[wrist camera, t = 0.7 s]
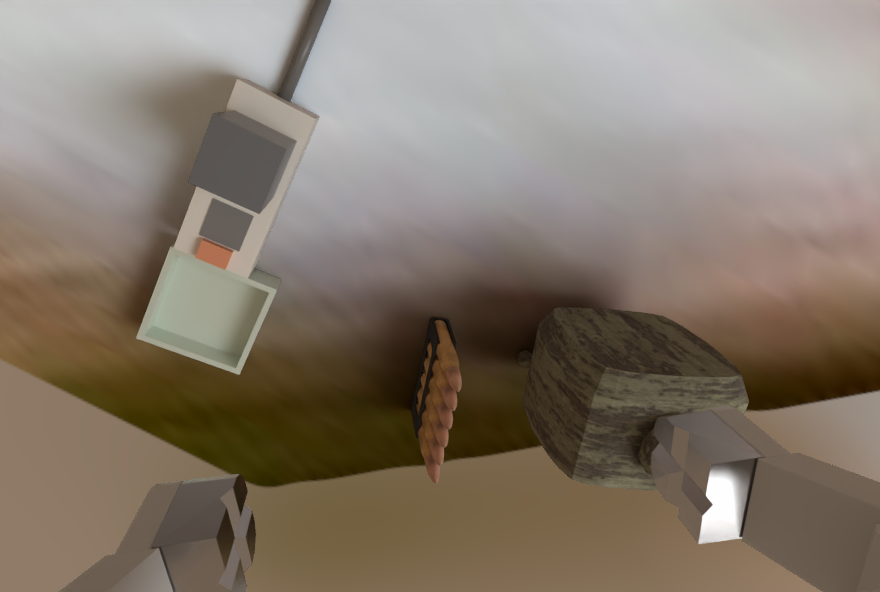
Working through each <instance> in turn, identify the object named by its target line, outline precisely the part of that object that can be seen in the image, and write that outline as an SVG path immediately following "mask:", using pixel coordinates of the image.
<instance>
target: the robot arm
mask: <svg viewBox="0 0 880 592" xmlns="http://www.w3.org/2000/svg"><path fill="white" fill-rule="evenodd" d="M654 436H655V437H656V438H657V440H658V441H659V442H660V443H659V444H658V446H657V447H656V448H655V449H654V451H653V452H652V454H651V471H652V475H653V480H654V482H655V485H656V487H657V489H658V491H659V492H660V494H661V495H662V496H663V498H664V499H665V500H666V501H668V502H670V503H671V504H673V505H675V506H677V507H679V514H678V518H679V519H680V520H681V522H682V523H683V524H684V526H685V527H686V528H687V530H688V531H689V532H690V534H691V535H692V536H693V537H694V539H695V540H696V541H697V543H698V544H701V543H709V542H716V541H724V540H732V539H738V538H742V541H743V542H745V543H746V544H748V545H750V546H751V547H753V548H754V549H756V550H758V551H759V552H761V553H762V554H764V555H765V556H767V557H769V558H770V559H772V560H773V561H775V562H776V563H778V564H780V565H781V566H783V567H784V568H786V569H787V570H789V571H791V572H792V573H794V574H795V575H797V576H798V577H800V578H802V579H803V580H805V581H806V582H808V583H810V584H811V585H813V586H814V587H816V588H817V589H819V590H821V591H822V592H880V482H877V481H874V480H872V479H869V478H866V477H864V476H861V475H858V474H855V473H853V472H850V471H847V470H844V469H842V468H839V467H836V466H833V465H831V464H828V463H825V462H822V461H820V460H817V459H814V458H812V457H809V456H806V455H803V454H801V453H793V454H791V453H790V452H788V451H787V450H786V449H785V448H783V447H782V446H781V445H780V444H778V443H777V442H776V441H775V440H774V439H772V438H771V437H770V436H769V435H768V434H767V433H765V432H764V431H763V430H762V429H760V428H759V427H758V426H757V425H756V424H754V423H753V422H752V421H751V420H749V419H748V418H747V417H746V416H745V415H744V414H742V413H741V412H740V411H739V410H737V409H736V408H733V407H730V406H725V407H719V408H713V409H707V410H705V411H699V412H692V413H685V414H678V415H671V416H664V417H658V419H657V421H656V423H655V427H654ZM247 492H248V491H247V487H246V483H245V480H244V477H243V476H242V475H241V474H235V475H226V476H218V477H209V478H201V479H192V480H185V481H177V482H168V483H161V484H156V485H155V486H153V487H152V488H151V489H150V490H149V492H148V494H147V496H146V497H145V499H144V501H143V503H142V505H141V507H140V509H139V510H138V512H137V514H136V516H135V518H134V520H133V522H132V523H131V525H130V527H129V529H128V531H127V533H126V534H125V536H124V538H123V540H122V542H121V544H120V546H119V548H118V549H117V551H116V553H115V554H114V555H107V556H105V557H103V558H102V559H101V560H99V561H98V562H97V563H95V564H94V565H93V566H92V567H90V568H89V569H88V570H86V571H85V572H84V573H82V574H81V575H80V576H79V577H77V578H76V579H75V580H73V581H72V582H71V583H69V584H68V585H67V586H66V587H64V588H63V589H62V590H60V591H59V592H246V589H247V583H246V579H245V575H244V572H245V571H246V570H247V569H248V568H249V567H250V566H251V565H252V562H253V557H254V553H255V542H256V530H255V520H254V516H253V511H252V510H251V509H250V508H248V507H247V506H246V505H244V503H245V500H246V496H247Z"/></svg>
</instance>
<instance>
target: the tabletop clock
mask: <svg viewBox="0 0 880 592" xmlns="http://www.w3.org/2000/svg"><path fill="white" fill-rule="evenodd" d="M517 361H518V363H519V364H520V365H522V366H524V367H526V366H529V365H530V368H529V373H528V378H527V382H526V387H525V392H524V396H523V404H524V409H525V412H526V414H527V417H528V420H529V422H530V425H531V427H532V430H533V432H534V433H535V435H536V436H537V438H538V440H539V441H540V443H541V444H542V446H543V448H544V449H545V451H546V452H547V454H548V455H549V456H550V458H551V459H552V460H553V462H554V463H555V464H556V465H557V466H558V468H560V469H561V470H562V471H563V472H564V473H565V474H566V475H567V476H569V477H570V478H571V479H572V480H576V481H580V482H583V483H587V484H590V485H596V486H601V487H612V488H627V489H643V490H658V489H657V487H656V485H655V482H654V480H653V475H652V471H651V454H652V452H653V451H654V449H655V448H656V447H657V446H658V444H659V443H660V442H659V441H658V440H657V438H656V437H655V436H654V427H655V423H656V421H657V419H658V417H664V416H671V415H678V414H685V413H692V412H699V411H705V410H707V409H713V408H719V407H725V406H730V407H733V408H736V409H737V410H739V411H740V412H741V413H742V414H744V413H745V411H746V408H747V406H748V403H749V400H748V396H747V393H746V389H745V386H744V382H743V379H742V376H741V373H740V372H739V370H738V369H737V368H736V366H735V365H734V364H732V363H731V362H730V361H729V360H728V359H727V358H726V357H724V356H723V355H722V354H720V353H719V352H718V351H717V350H715V349H714V348H713V347H711V346H710V345H709V344H708V343H706V342H705V341H703V340H702V339H700V338H699V337H697V336H696V335H695V334H693V333H692V332H690V331H689V330H687V329H686V328H684V327H683V326H681V325H679V324H677V323H676V322H674V321H672V320H670V319H668V318H666V317H663V316H659V315H654V314H649V313H642V312H632V311H621V310H611V309H596V308H578V307H560V308H554V309H553V310H552V311H551V312H550V313H549V314H548V315H547V316H546V317H545V318H544V319H543V320H542V321H541V322H540V323H539V326H538V331H537V335H536V340H535V345H534V349H533V354H531V353H530V352H528V351H526V350H525V351H522V352H520V353H519V354H518V356H517Z"/></svg>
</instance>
